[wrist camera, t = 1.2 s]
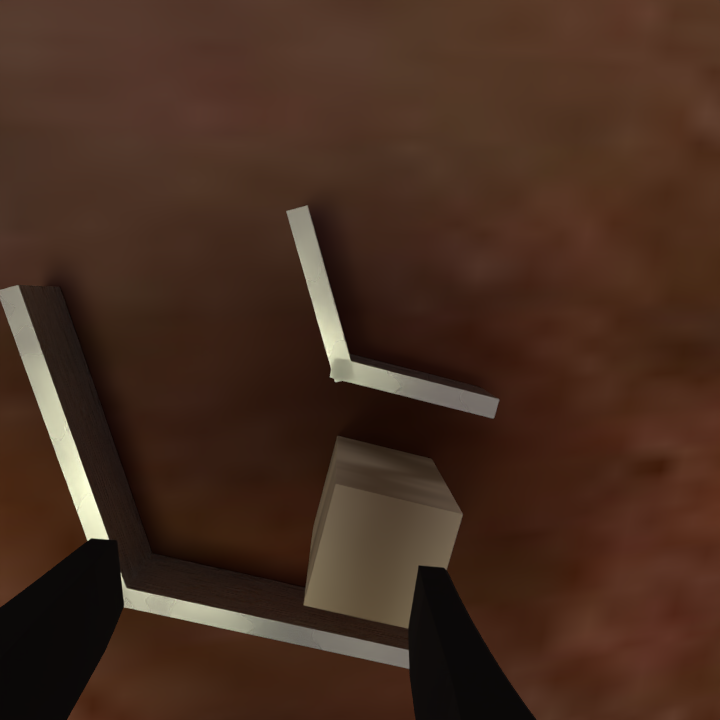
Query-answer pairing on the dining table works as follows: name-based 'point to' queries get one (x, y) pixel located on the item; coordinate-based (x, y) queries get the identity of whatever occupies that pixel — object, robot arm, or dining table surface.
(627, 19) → the dining table surface
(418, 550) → the maple block
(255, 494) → the dining table surface
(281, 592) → the rail track
